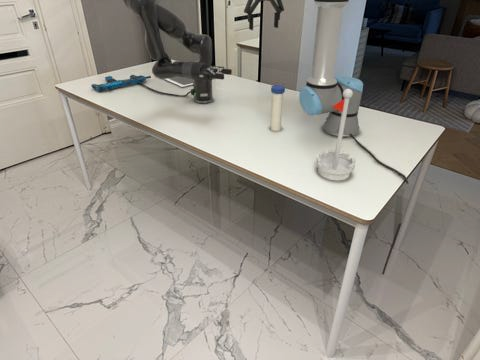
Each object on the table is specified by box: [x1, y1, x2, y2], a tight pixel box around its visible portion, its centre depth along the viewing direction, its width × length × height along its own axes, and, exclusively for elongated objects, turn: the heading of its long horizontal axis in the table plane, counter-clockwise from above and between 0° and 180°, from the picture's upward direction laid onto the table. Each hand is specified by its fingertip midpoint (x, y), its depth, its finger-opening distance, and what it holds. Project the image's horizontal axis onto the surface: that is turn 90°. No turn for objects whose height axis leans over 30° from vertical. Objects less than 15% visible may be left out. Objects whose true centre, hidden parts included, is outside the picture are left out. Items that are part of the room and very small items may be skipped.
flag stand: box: [315, 89, 356, 181], centre depth 112 cm, size 13×13×30 cm
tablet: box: [163, 77, 194, 88], centre depth 216 cm, size 32×20×1 cm, turn 41°
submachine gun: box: [90, 74, 152, 92], centre depth 206 cm, size 34×4×25 cm
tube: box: [270, 92, 284, 132], centre depth 147 cm, size 5×5×19 cm
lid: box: [270, 84, 286, 94], centre depth 142 cm, size 6×6×2 cm
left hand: (227, 74), depth 146 cm, fingers open, 8 cm apart
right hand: (263, 28), depth 163 cm, fingers open, 13 cm apart
